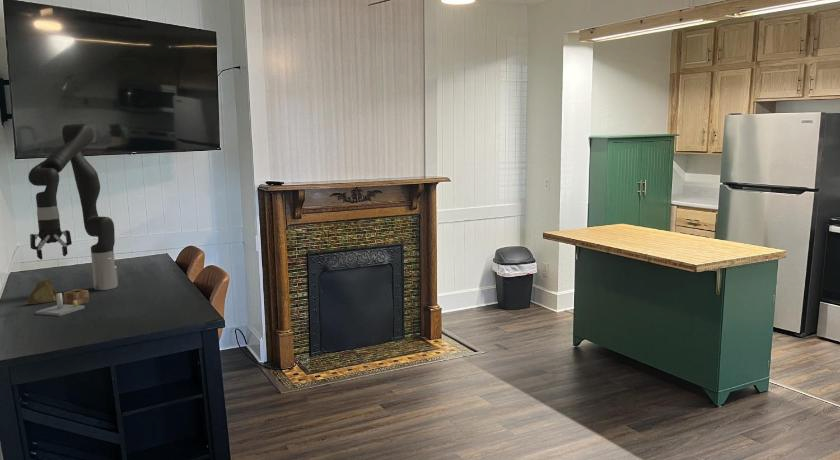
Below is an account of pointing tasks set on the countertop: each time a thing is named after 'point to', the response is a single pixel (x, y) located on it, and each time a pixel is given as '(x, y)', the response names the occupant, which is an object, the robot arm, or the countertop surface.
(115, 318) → the countertop surface
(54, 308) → the post board
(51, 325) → the countertop surface
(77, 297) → the wooden square frame
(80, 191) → the robot arm
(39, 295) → the rock
